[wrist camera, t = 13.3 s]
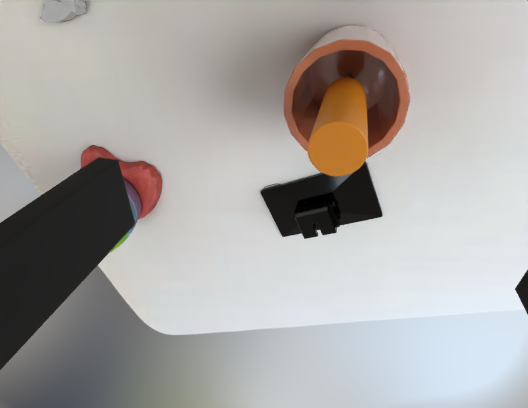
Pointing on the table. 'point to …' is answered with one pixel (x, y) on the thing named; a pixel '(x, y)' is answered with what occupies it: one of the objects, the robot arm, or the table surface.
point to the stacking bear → (132, 183)
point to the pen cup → (362, 69)
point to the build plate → (322, 203)
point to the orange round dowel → (340, 129)
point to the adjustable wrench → (61, 10)
